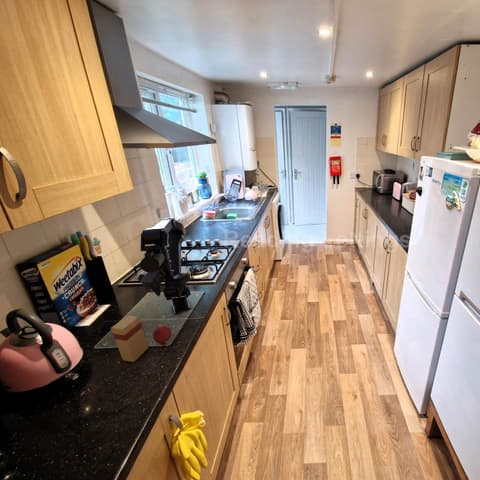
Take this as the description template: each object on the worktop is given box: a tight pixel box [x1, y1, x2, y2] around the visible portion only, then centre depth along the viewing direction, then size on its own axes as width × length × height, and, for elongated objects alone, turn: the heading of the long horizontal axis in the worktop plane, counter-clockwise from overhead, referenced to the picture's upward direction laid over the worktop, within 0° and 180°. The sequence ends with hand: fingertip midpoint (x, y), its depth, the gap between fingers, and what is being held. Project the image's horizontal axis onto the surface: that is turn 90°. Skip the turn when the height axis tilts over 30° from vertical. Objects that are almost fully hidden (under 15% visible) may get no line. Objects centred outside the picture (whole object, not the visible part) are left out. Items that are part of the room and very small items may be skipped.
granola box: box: [110, 315, 149, 363], centre depth 91 cm, size 4×7×14 cm
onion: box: [152, 323, 172, 344], centre depth 97 cm, size 6×6×8 cm
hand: (169, 297), depth 103 cm, fingers open, 9 cm apart
